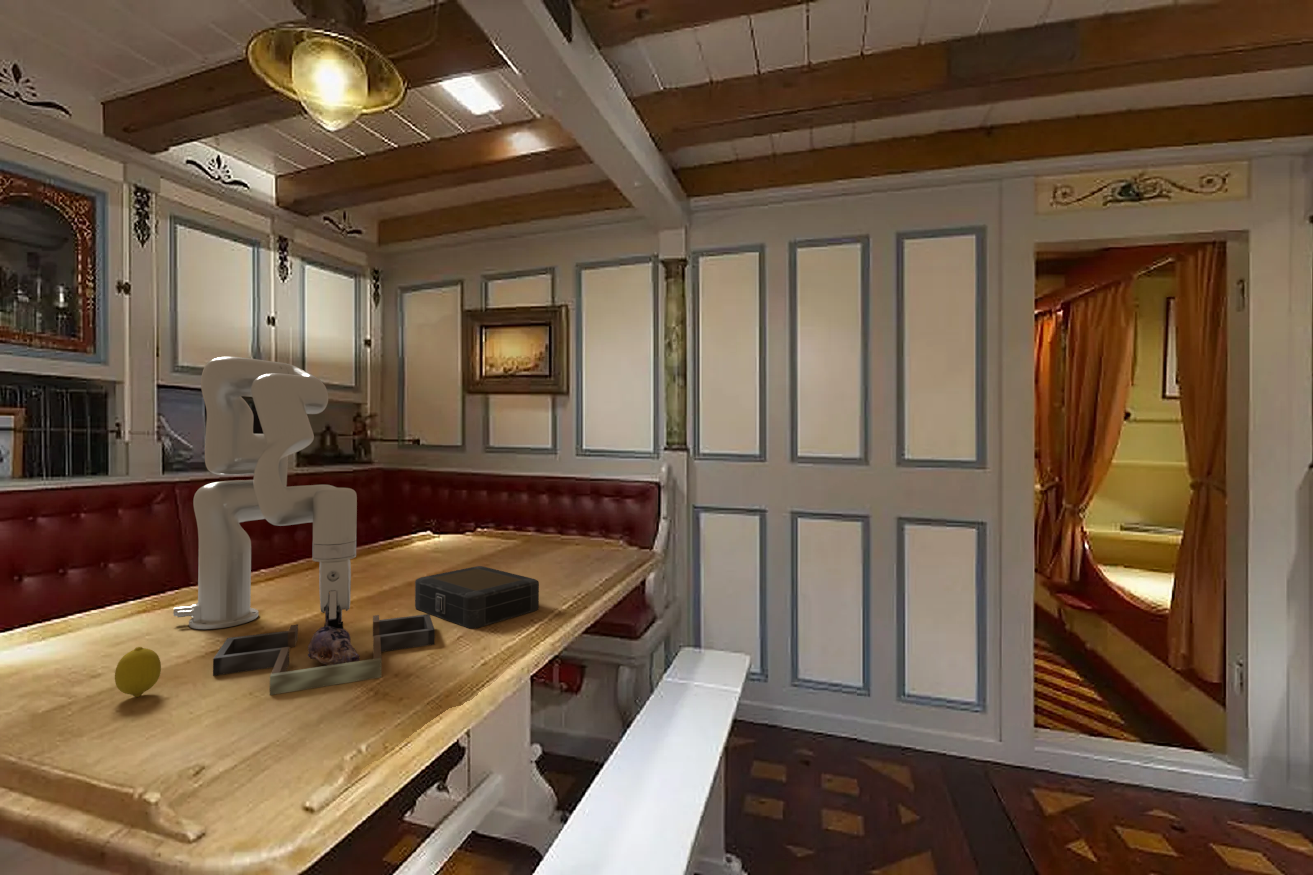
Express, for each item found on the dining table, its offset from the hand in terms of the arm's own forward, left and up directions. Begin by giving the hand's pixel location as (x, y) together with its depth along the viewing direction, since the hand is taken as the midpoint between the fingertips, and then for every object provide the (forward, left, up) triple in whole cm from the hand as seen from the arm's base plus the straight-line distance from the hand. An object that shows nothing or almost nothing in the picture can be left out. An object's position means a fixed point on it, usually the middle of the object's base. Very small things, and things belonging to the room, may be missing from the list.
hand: (333, 643), depth 113 cm
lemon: (-27, -10, -2) cm, 29 cm away
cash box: (+30, +16, -2) cm, 34 cm away
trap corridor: (0, -3, -1) cm, 4 cm away
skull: (+1, -8, -2) cm, 8 cm away
